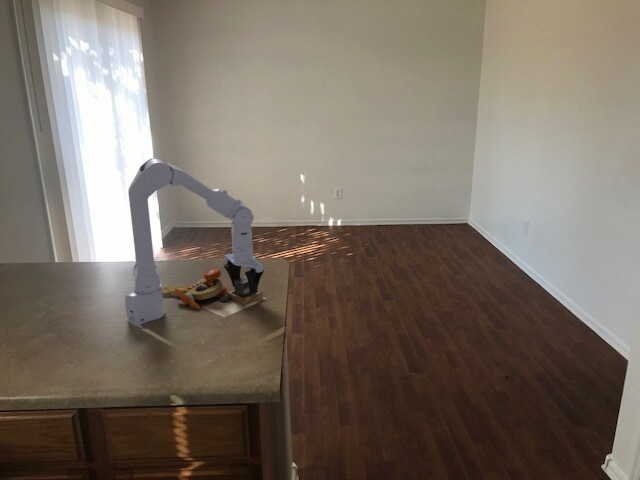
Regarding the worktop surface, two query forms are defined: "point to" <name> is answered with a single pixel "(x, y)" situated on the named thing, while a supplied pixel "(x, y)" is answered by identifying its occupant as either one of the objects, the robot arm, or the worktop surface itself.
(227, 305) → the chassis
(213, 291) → the toy helicopter
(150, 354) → the worktop surface
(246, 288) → the grey rectangular block
